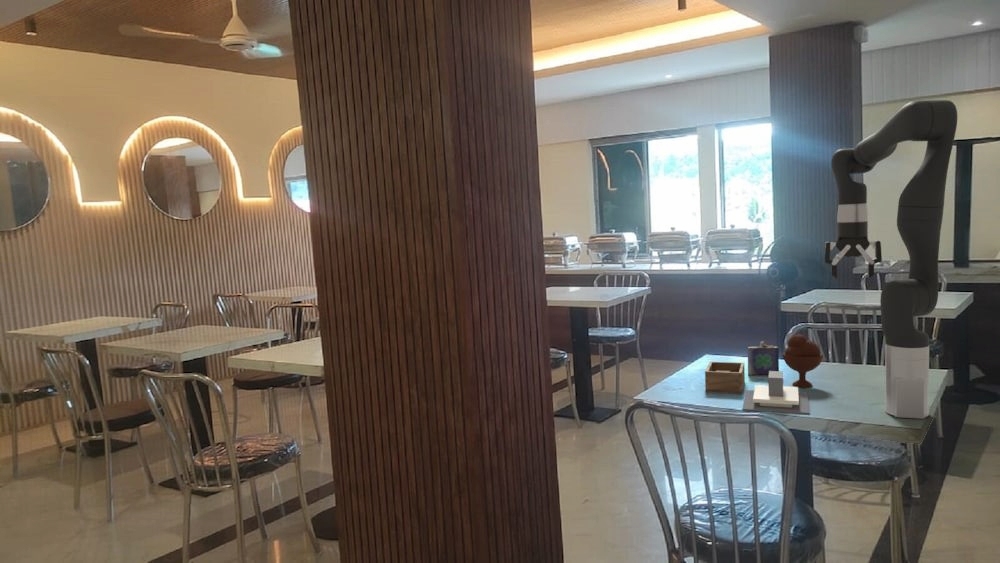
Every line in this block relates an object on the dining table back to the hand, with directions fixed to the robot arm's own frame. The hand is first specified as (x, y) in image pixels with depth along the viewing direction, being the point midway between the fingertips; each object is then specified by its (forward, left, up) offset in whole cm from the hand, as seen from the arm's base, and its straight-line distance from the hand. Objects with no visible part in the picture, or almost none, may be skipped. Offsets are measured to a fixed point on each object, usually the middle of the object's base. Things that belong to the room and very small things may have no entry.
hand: (852, 278), depth 190 cm
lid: (-21, +20, -31) cm, 42 cm away
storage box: (-7, +34, -31) cm, 47 cm away
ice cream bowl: (-1, +13, -32) cm, 34 cm away
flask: (+11, +24, -32) cm, 41 cm away
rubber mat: (-21, +20, -31) cm, 43 cm away
